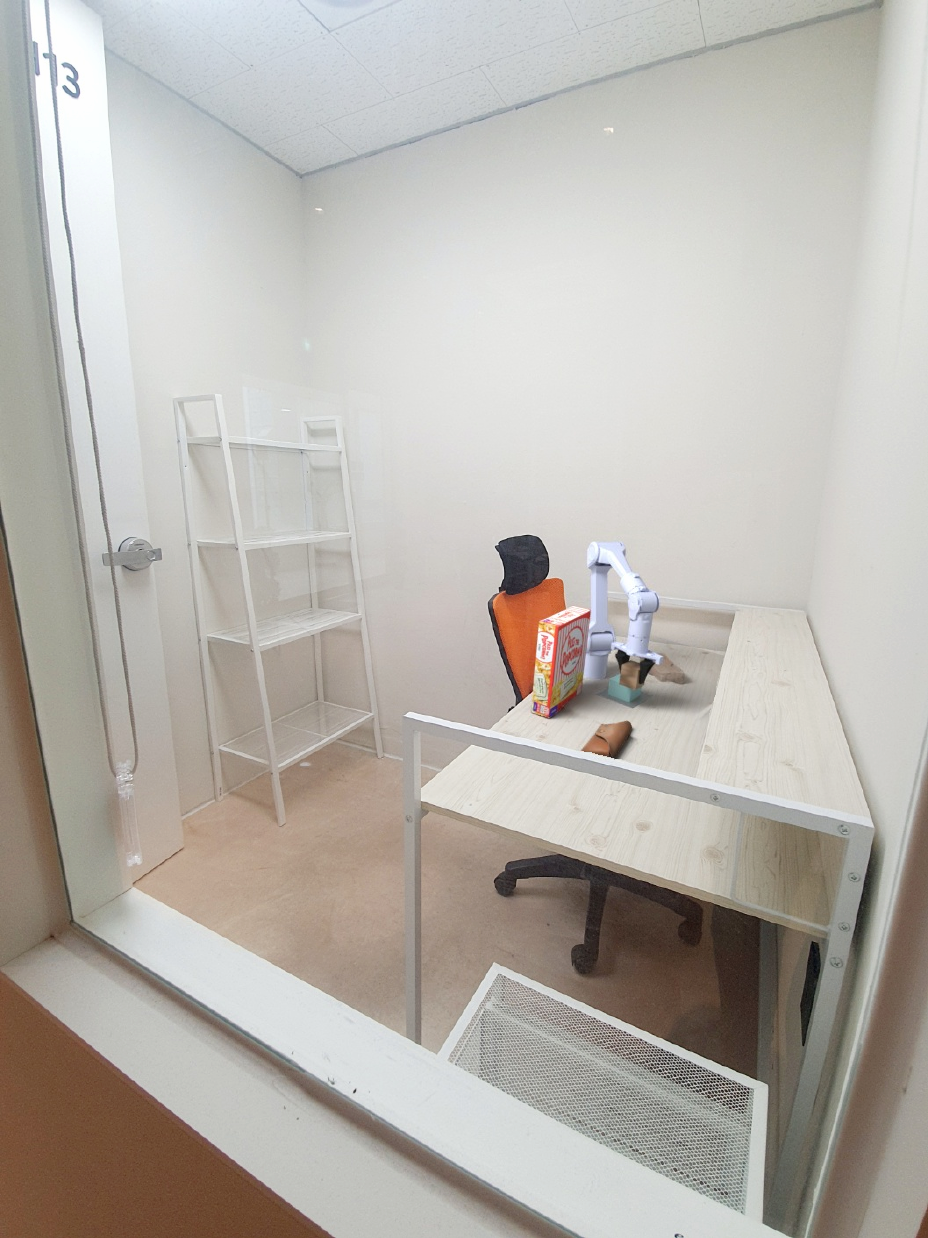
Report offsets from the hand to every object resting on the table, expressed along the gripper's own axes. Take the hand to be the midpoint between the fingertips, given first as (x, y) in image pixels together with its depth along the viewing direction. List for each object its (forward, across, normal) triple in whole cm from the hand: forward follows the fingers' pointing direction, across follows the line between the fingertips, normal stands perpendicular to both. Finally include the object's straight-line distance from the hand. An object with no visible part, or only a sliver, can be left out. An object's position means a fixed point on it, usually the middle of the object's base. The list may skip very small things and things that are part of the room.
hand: (632, 679), depth 150 cm
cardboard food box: (+10, -16, -12) cm, 22 cm away
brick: (+10, -5, +31) cm, 33 cm away
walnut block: (+2, 0, 0) cm, 2 cm away
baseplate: (+9, -4, +6) cm, 12 cm away
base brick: (+8, -4, +6) cm, 11 cm away
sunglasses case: (+10, +5, -21) cm, 24 cm away
